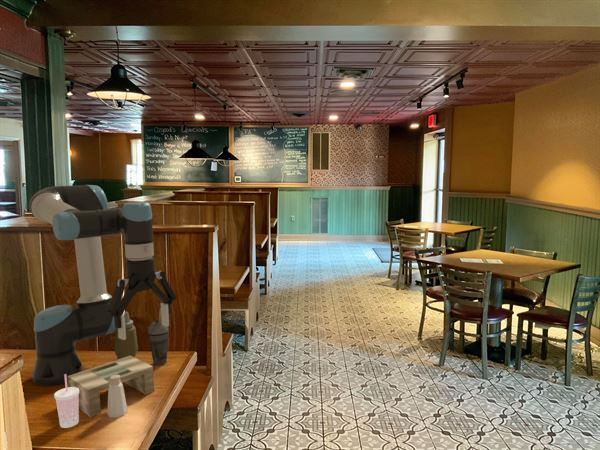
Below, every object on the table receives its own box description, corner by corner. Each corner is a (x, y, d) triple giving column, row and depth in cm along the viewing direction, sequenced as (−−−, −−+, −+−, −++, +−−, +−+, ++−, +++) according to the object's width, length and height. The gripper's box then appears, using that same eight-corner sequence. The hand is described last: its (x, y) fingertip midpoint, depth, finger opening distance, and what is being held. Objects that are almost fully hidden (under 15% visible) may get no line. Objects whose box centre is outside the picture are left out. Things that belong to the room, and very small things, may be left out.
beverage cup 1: (85, 422, 126) (81, 373, 124) (62, 432, 121) (57, 381, 120) (76, 415, 130) (72, 367, 128) (53, 424, 125) (48, 375, 124)
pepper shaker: (106, 419, 127) (103, 381, 126) (108, 410, 132) (105, 373, 131) (127, 416, 128) (124, 378, 127) (128, 407, 134) (125, 370, 132)
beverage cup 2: (149, 360, 167) (146, 307, 165) (170, 357, 169) (167, 305, 167) (149, 368, 160) (145, 313, 158) (171, 365, 163) (167, 310, 160)
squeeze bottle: (130, 365, 164) (130, 317, 161) (109, 361, 166) (109, 314, 163) (142, 355, 172) (142, 310, 169) (122, 352, 174) (122, 307, 170)
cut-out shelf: (69, 401, 138) (67, 376, 137) (132, 378, 153) (130, 355, 152) (90, 417, 129) (88, 389, 128) (154, 390, 143) (152, 366, 142)
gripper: (103, 267, 115) (109, 348, 118) (185, 252, 134) (189, 322, 137) (89, 263, 120) (95, 341, 123) (170, 250, 139) (174, 317, 142)
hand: (144, 331), depth 130 cm, fingers open, 13 cm apart
